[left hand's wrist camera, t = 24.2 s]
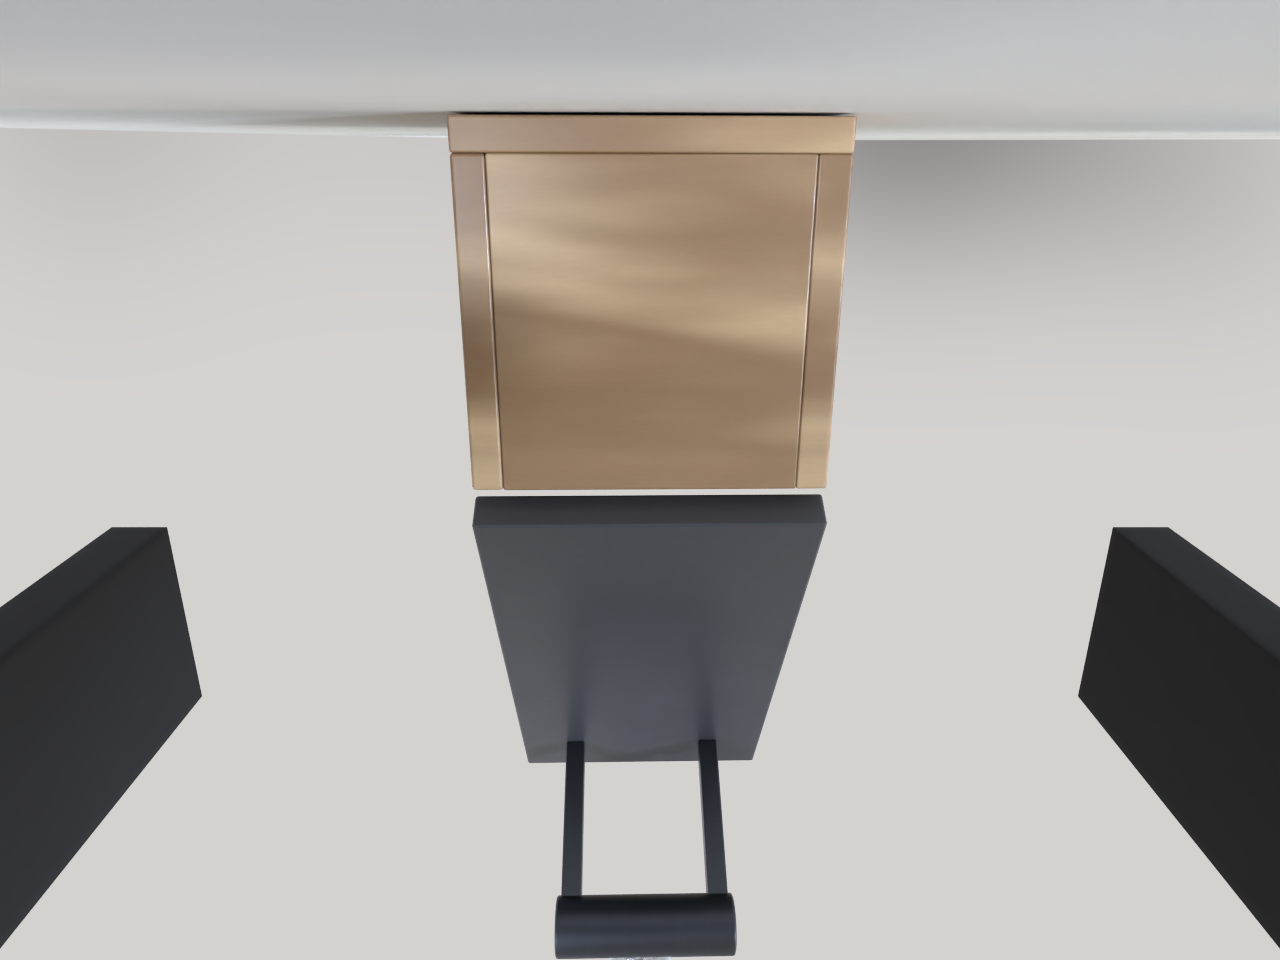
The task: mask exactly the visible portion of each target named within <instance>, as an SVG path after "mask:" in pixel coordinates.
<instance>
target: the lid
mask: <svg viewBox="0 0 1280 960" xmlns="http://www.w3.org/2000/svg"><path fill="white" fill-rule="evenodd" d="M826 524H827V522H826V516H825V511H824V505H823V500H822V496H821V495H819V494H817V495H649V496H480V497H477V498H476V500H475V509H474V517H473V525H472V526H473V531H474V535H475V539H476V543H477V547H478V552H479V556H480V560H481V564H482V568H483V573H484V577H485V581H486V585H487V590H488V594H489V598H490V602H491V606H492V611H493V614H494V619H495V623H496V627H497V632H498V636H499V640H500V644H501V648H502V653H503V657H504V661H505V665H506V670H507V674H508V678H509V682H510V686H511V691H512V695H513V699H514V703H515V707H516V712H517V716H518V720H519V724H520V728H521V733H522V737H523V741H524V745H525V750H526V754H527V758H528V762H529V763H555V762H566V778H565V808H564V836H563V866H562V895H561V896H558V897H557V901H556V912H555V956H556V958H557V959H579V958H636V957H692V956H734V955H735V953H736V944H737V933H736V915H735V906H734V900H733V896H732V894H731V893H728V892H727V878H726V865H725V851H724V838H723V824H722V810H721V797H720V783H719V770H718V760H752V759H753V756H754V752H755V749H756V746H757V743H758V740H759V737H760V733H761V730H762V727H763V724H764V721H765V718H766V714H767V711H768V708H769V705H770V702H771V698H772V695H773V692H774V689H775V686H776V683H777V680H778V676H779V673H780V670H781V667H782V664H783V661H784V657H785V654H786V651H787V648H788V645H789V641H790V638H791V635H792V632H793V629H794V626H795V623H796V619H797V616H798V613H799V610H800V607H801V604H802V601H803V597H804V594H805V591H806V588H807V585H808V581H809V578H810V575H811V572H812V569H813V566H814V563H815V559H816V556H817V553H818V550H819V547H820V544H821V540H822V537H823V534H824V531H825V528H826ZM634 761H699V777H700V793H701V810H702V827H703V843H704V859H705V877H706V893H686V894H623V895H582V869H583V821H584V773H585V762H634Z"/></svg>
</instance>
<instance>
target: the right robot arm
mask: <svg viewBox="0 0 1280 960" xmlns="http://www.w3.org/2000/svg"><path fill="white" fill-rule="evenodd" d="M609 960H671V957H636V958H609Z"/></svg>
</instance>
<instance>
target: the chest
mask: <svg viewBox="0 0 1280 960" xmlns="http://www.w3.org/2000/svg"><path fill="white" fill-rule="evenodd" d="M447 126H448V140H449V150H450V152H452V154H451V155H450V166H451V181H452V195H453V209H454V224H455V239H456V253H457V268H458V282H459V296H460V311H461V326H462V340H463V354H464V369H465V384H466V398H467V413H468V427H469V442H470V456H471V471H472V485H473V488H474V489H475V490H500V489H503V488H504V489H505V490H589V489H590V490H591V489H763V488H764V489H766V488H795V487H796V488H825V487H826V482H827V470H828V458H829V446H830V434H831V422H832V410H833V398H834V386H835V373H836V361H837V350H838V337H839V325H840V313H841V301H842V289H843V277H844V264H845V252H846V241H847V228H848V216H849V204H850V192H851V180H852V168H853V154H852V153H853V152H854V143H855V131H856V117H855V116H726V115H458V114H450V115H448V116H447Z"/></svg>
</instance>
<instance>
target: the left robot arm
mask: <svg viewBox="0 0 1280 960" xmlns="http://www.w3.org/2000/svg"><path fill="white" fill-rule="evenodd" d="M201 697H202V694H201V689H200V685H199V680H198V675H197V670H196V665H195V661H194V656H193V651H192V646H191V641H190V636H189V631H188V627H187V622H186V617H185V612H184V607H183V602H182V598H181V593H180V588H179V583H178V578H177V573H176V569H175V564H174V559H173V554H172V549H171V545H170V540H169V535H168V530H167V527H112V528H110V529H109V530H107V531H106V532H105V533H103V534H102V535H100V536H99V537H98V538H96V539H95V540H94V541H92V542H91V543H89V544H88V545H87V546H85V547H84V548H82V549H81V550H80V551H78V552H77V553H75V554H74V555H73V556H71V557H70V558H68V559H67V560H66V561H64V562H63V563H61V564H60V565H59V566H57V567H56V568H54V569H53V570H52V571H50V572H49V573H48V574H46V575H45V576H43V577H42V578H41V579H39V580H38V581H36V582H35V583H34V584H32V585H31V586H29V587H28V588H27V589H25V590H24V591H22V592H21V593H20V594H18V595H17V596H15V597H14V598H13V599H11V600H10V601H8V602H7V603H6V604H4V605H3V606H2V607H0V948H1V947H2V945H3V944H4V943H5V942H6V940H7V939H8V938H9V937H10V935H11V934H12V933H13V932H14V930H15V929H16V928H17V927H18V925H19V924H20V923H21V922H22V920H23V919H24V918H25V917H26V915H27V914H28V913H29V912H30V910H31V909H32V908H33V907H34V905H35V904H36V903H37V902H38V900H39V899H40V898H41V897H42V895H43V894H44V893H45V892H46V890H47V889H48V888H49V887H50V885H51V884H52V883H53V882H54V880H55V879H56V878H57V877H58V875H59V874H60V873H61V872H62V870H63V869H64V868H65V867H66V865H67V864H68V863H69V862H70V860H71V859H72V858H73V857H74V855H75V854H76V853H77V852H78V850H79V849H80V848H81V847H82V845H83V844H84V843H85V842H86V840H87V839H88V838H89V837H90V835H91V834H92V833H93V832H94V830H95V829H96V828H97V827H98V825H99V824H100V823H101V822H102V820H103V819H104V818H105V817H106V815H107V814H108V813H109V812H110V810H111V809H112V808H113V807H114V805H115V804H116V803H117V802H118V800H119V799H120V798H121V797H122V795H123V794H124V793H125V792H126V790H127V789H128V788H129V787H130V785H131V784H132V783H133V782H134V780H135V779H136V778H137V777H138V775H139V774H140V773H141V772H142V770H143V769H144V768H145V767H146V765H147V764H148V763H149V762H150V760H151V759H152V758H153V757H154V755H155V754H156V753H157V752H158V750H159V749H160V748H161V747H162V745H163V744H164V743H165V742H166V740H167V739H168V738H169V737H170V735H171V734H172V733H173V732H174V730H175V729H176V728H177V726H178V725H179V724H180V723H181V722H182V720H183V719H184V718H185V716H186V715H187V714H188V713H189V712H190V710H191V709H192V708H193V707H194V705H195V704H196V703H197V702H198V700H199V699H200V698H201ZM1078 697H1079V698H1080V699H1081V700H1082V702H1083V703H1084V704H1085V705H1086V707H1087V708H1088V709H1089V710H1090V712H1091V713H1092V714H1093V715H1094V717H1095V718H1096V719H1097V720H1098V722H1099V723H1100V724H1101V725H1102V727H1103V728H1104V729H1105V730H1106V732H1107V733H1108V734H1109V735H1110V737H1111V738H1112V739H1113V740H1114V742H1115V743H1116V744H1117V745H1118V747H1119V748H1120V749H1121V750H1122V752H1123V753H1124V754H1125V755H1126V757H1127V758H1128V759H1129V760H1130V762H1131V763H1132V764H1133V765H1134V767H1135V768H1136V769H1137V770H1138V772H1139V773H1140V774H1141V775H1142V777H1143V778H1144V779H1145V780H1146V782H1147V783H1148V784H1149V785H1150V787H1151V788H1152V789H1153V790H1154V792H1155V793H1156V794H1157V795H1158V797H1159V798H1160V799H1161V800H1162V802H1163V803H1164V804H1165V805H1166V807H1167V808H1168V809H1169V810H1170V812H1171V813H1172V814H1173V815H1174V817H1175V818H1176V819H1177V820H1178V822H1179V823H1180V824H1181V825H1182V827H1183V828H1184V829H1185V830H1186V832H1187V833H1188V834H1189V835H1190V837H1191V838H1192V839H1193V840H1194V842H1195V843H1196V844H1197V845H1198V847H1199V848H1200V849H1201V850H1202V852H1203V853H1204V854H1205V855H1206V857H1207V858H1208V859H1209V860H1210V862H1211V863H1212V864H1213V865H1214V867H1215V868H1216V869H1217V870H1218V872H1219V873H1220V874H1221V875H1222V877H1223V878H1224V879H1225V880H1226V882H1227V883H1228V884H1229V885H1230V887H1231V888H1232V889H1233V890H1234V892H1235V893H1236V894H1237V895H1238V897H1239V898H1240V899H1241V900H1242V902H1243V903H1244V904H1245V905H1246V907H1247V908H1248V909H1249V910H1250V912H1251V913H1252V914H1253V915H1254V917H1255V918H1256V919H1257V920H1258V922H1259V923H1260V924H1261V925H1262V927H1263V928H1264V929H1265V930H1266V932H1267V933H1268V934H1269V935H1270V937H1271V938H1272V939H1273V940H1274V942H1275V943H1276V944H1277V945H1278V947H1279V948H1280V607H1278V606H1277V605H1276V604H1274V603H1273V602H1272V601H1270V600H1269V599H1267V598H1266V597H1265V596H1263V595H1262V594H1260V593H1259V592H1258V591H1256V590H1255V589H1253V588H1252V587H1250V586H1249V585H1248V584H1246V583H1245V582H1244V581H1242V580H1241V579H1239V578H1238V577H1237V576H1235V575H1234V574H1232V573H1231V572H1230V571H1228V570H1227V569H1226V568H1224V567H1223V566H1221V565H1220V564H1219V563H1217V562H1216V561H1214V560H1213V559H1212V558H1210V557H1209V556H1207V555H1206V554H1205V553H1203V552H1202V551H1200V550H1199V549H1198V548H1196V547H1195V546H1193V545H1192V544H1191V543H1189V542H1188V541H1186V540H1185V539H1184V538H1182V537H1181V536H1180V535H1178V534H1177V533H1175V532H1174V531H1173V530H1171V529H1170V528H1168V527H1113V530H1112V535H1111V540H1110V545H1109V549H1108V554H1107V559H1106V564H1105V569H1104V573H1103V578H1102V583H1101V588H1100V593H1099V598H1098V602H1097V607H1096V612H1095V617H1094V622H1093V627H1092V631H1091V636H1090V641H1089V646H1088V651H1087V656H1086V661H1085V665H1084V670H1083V675H1082V680H1081V685H1080V689H1079V694H1078Z"/></svg>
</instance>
